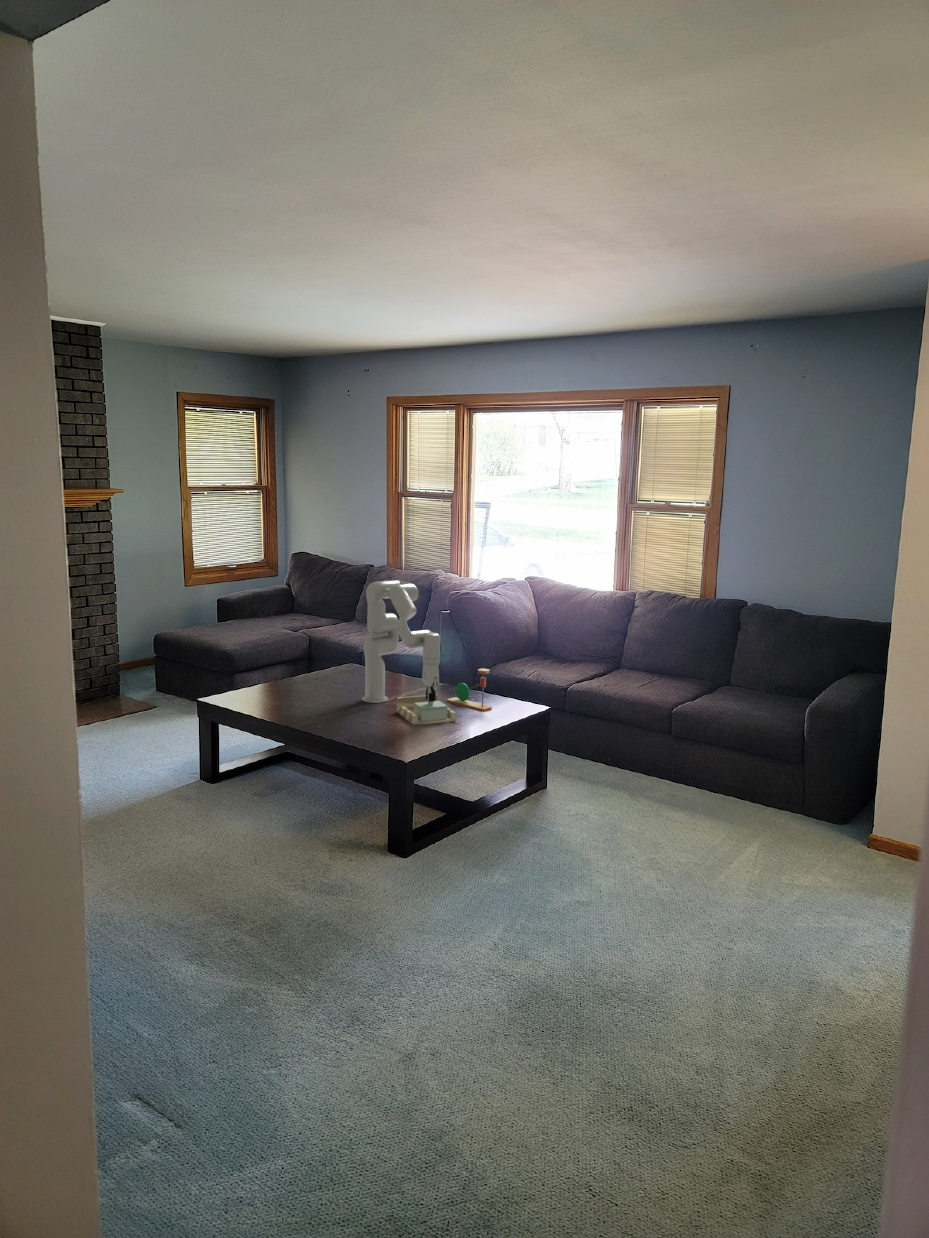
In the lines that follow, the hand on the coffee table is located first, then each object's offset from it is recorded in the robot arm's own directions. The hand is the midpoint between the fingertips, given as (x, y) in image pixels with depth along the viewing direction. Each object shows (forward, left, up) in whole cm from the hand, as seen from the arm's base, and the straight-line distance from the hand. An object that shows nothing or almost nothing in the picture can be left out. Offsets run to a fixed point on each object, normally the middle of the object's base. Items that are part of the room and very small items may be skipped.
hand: (430, 700), depth 397 cm
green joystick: (0, 0, -8) cm, 8 cm away
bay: (-6, 0, -9) cm, 11 cm away
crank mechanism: (-18, +27, -9) cm, 33 cm away
